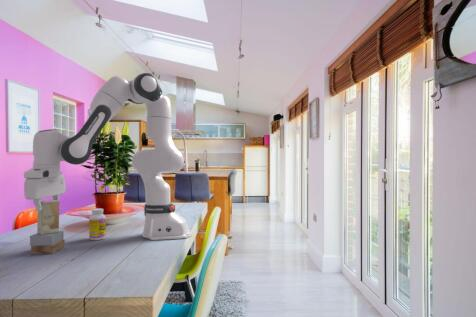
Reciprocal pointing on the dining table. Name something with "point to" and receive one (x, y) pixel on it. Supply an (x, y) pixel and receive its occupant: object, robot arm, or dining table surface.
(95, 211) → the supplement bottle
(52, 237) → the tower top
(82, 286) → the dining table surface
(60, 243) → the tower base
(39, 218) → the skincare box
